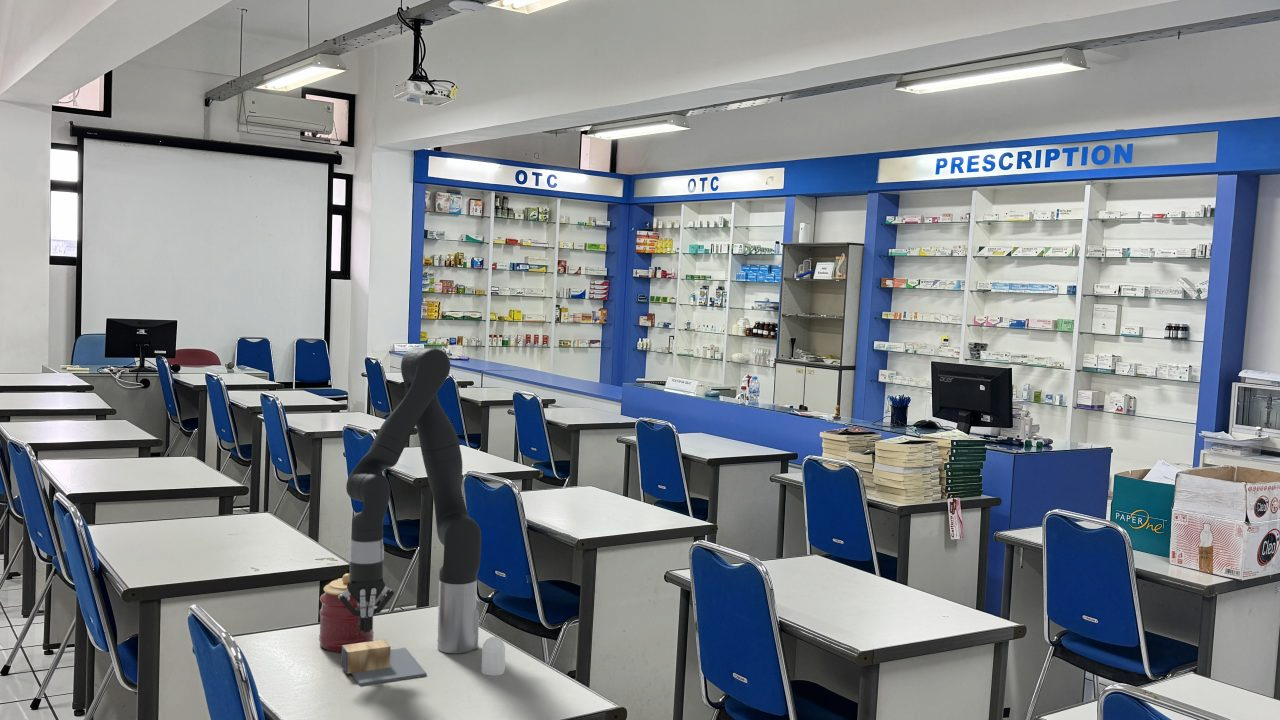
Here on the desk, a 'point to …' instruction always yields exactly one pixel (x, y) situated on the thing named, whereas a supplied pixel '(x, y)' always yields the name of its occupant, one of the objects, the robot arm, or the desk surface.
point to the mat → (392, 669)
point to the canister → (339, 619)
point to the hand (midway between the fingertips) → (365, 631)
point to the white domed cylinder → (493, 656)
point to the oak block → (365, 656)
